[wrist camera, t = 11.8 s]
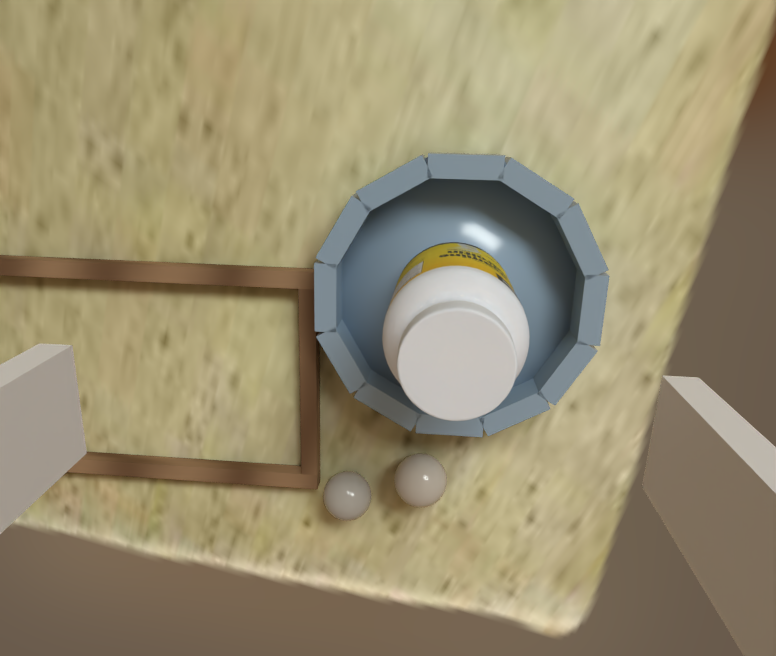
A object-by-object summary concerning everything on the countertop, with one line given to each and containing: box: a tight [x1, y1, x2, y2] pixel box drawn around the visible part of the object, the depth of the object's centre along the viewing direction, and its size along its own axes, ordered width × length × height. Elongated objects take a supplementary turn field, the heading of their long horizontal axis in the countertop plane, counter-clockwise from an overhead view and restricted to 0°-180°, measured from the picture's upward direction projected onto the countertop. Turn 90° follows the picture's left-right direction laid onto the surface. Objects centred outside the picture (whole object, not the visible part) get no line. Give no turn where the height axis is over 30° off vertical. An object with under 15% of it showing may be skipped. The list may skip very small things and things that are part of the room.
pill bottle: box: [382, 242, 530, 421], centre depth 29 cm, size 6×6×12 cm
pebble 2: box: [394, 453, 447, 507], centre depth 37 cm, size 3×3×3 cm
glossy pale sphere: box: [323, 471, 372, 521], centre depth 38 cm, size 3×3×3 cm
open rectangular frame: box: [0, 255, 320, 489], centre depth 38 cm, size 26×14×1 cm, turn 88°
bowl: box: [314, 153, 609, 437], centre depth 34 cm, size 15×15×3 cm
